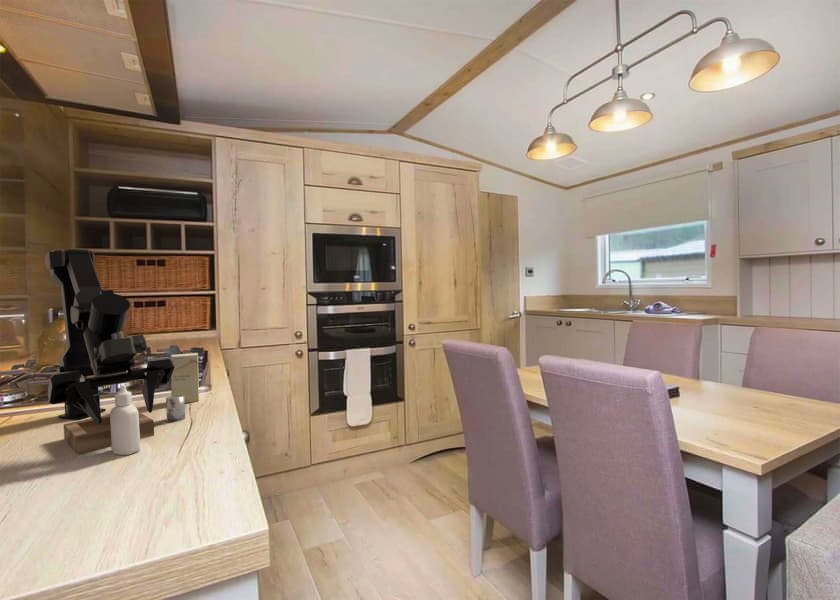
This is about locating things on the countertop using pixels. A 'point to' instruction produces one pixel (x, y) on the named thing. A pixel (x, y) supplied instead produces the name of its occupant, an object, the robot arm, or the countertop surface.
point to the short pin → (175, 408)
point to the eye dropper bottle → (124, 424)
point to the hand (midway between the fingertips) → (126, 416)
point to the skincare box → (185, 376)
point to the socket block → (99, 433)
